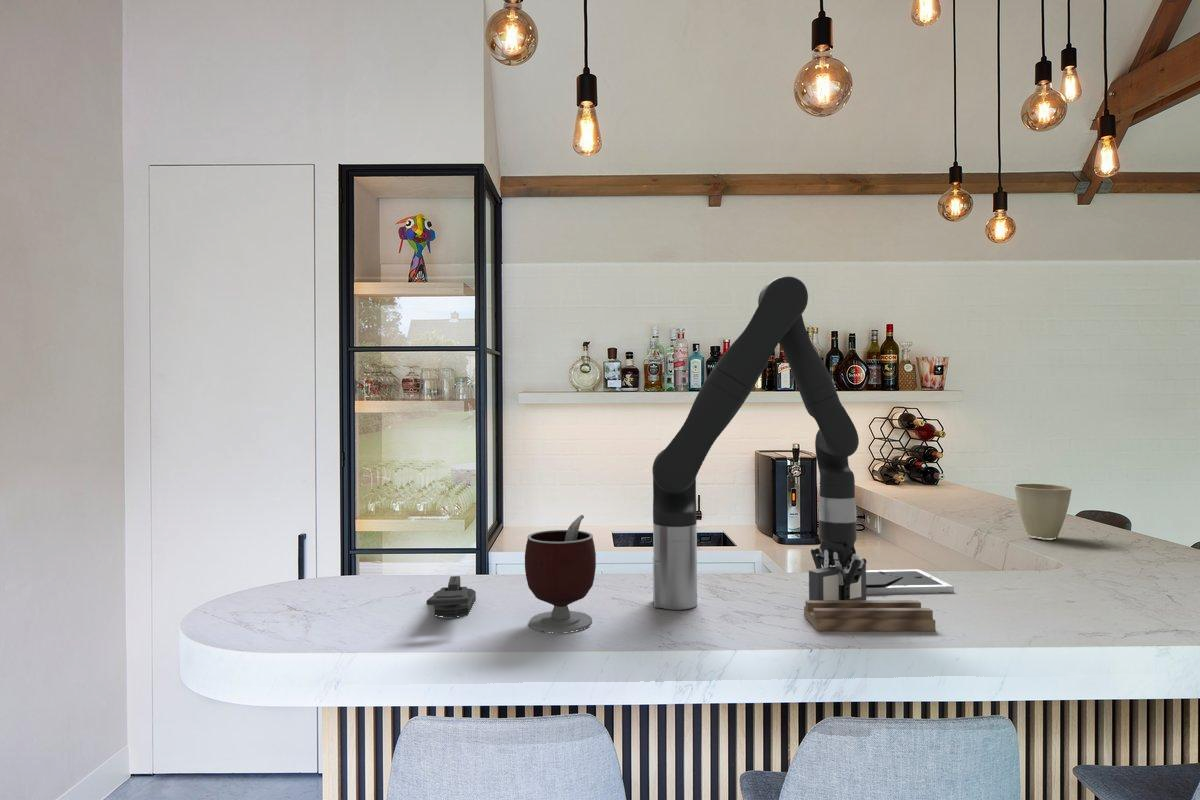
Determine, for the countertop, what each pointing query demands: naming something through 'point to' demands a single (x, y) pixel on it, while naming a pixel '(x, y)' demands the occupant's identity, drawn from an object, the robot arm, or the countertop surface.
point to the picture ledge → (870, 624)
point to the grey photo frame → (833, 585)
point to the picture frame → (904, 582)
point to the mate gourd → (560, 575)
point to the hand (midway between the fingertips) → (838, 600)
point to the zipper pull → (453, 599)
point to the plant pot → (1042, 508)
